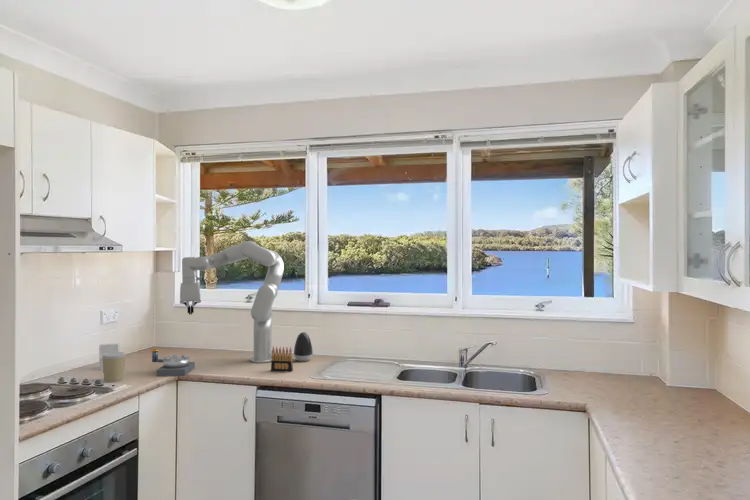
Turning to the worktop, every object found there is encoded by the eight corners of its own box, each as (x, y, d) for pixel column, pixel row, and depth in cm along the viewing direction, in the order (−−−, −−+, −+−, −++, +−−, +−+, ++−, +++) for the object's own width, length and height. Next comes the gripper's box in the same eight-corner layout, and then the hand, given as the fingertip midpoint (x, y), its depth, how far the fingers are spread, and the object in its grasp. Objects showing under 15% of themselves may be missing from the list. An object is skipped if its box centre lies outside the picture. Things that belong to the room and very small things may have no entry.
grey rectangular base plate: (194, 367, 249) (194, 361, 249) (184, 375, 233) (184, 368, 233) (168, 368, 248) (168, 361, 248) (156, 376, 232) (156, 369, 232)
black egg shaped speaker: (313, 358, 272) (314, 330, 272) (311, 362, 261) (311, 334, 261) (295, 358, 272) (295, 330, 272) (292, 362, 262) (292, 333, 262)
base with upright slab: (120, 365, 255) (120, 342, 255) (117, 369, 246) (117, 345, 246) (101, 366, 252) (101, 343, 252) (97, 370, 243) (97, 346, 243)
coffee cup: (129, 378, 228) (129, 352, 228) (113, 383, 219) (113, 356, 219) (114, 376, 231) (114, 351, 231) (97, 381, 222) (97, 355, 222)
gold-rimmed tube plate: (193, 362, 247) (193, 347, 247) (183, 368, 235) (183, 351, 235) (157, 362, 247) (157, 347, 247) (146, 368, 235) (146, 351, 235)
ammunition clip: (270, 371, 243) (270, 346, 243) (272, 370, 245) (272, 346, 245) (291, 371, 241) (291, 347, 241) (292, 370, 243) (292, 346, 243)
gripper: (204, 279, 269) (205, 312, 269) (175, 280, 264) (175, 314, 264) (204, 279, 262) (205, 314, 262) (174, 281, 257) (175, 316, 257)
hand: (190, 314), depth 263 cm, fingers closed
